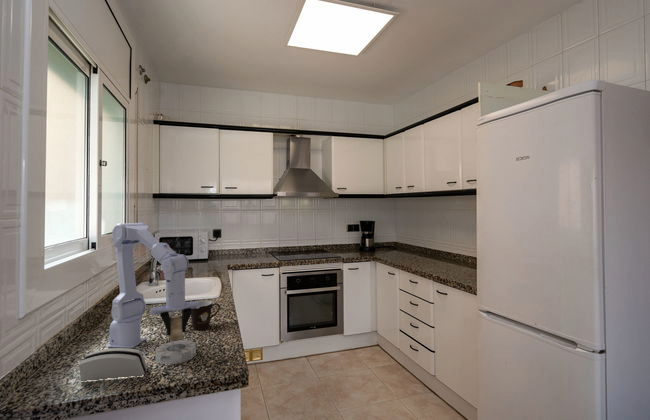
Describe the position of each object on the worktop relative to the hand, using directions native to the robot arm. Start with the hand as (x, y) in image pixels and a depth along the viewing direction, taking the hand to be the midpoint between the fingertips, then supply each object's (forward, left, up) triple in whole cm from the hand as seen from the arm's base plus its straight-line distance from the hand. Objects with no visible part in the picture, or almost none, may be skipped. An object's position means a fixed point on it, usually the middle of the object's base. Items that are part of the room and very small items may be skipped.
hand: (176, 333), depth 108 cm
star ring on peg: (0, 0, -8) cm, 8 cm away
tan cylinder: (0, 0, -2) cm, 2 cm away
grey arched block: (-10, -15, -8) cm, 20 cm away
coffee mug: (-3, +27, -8) cm, 28 cm away
